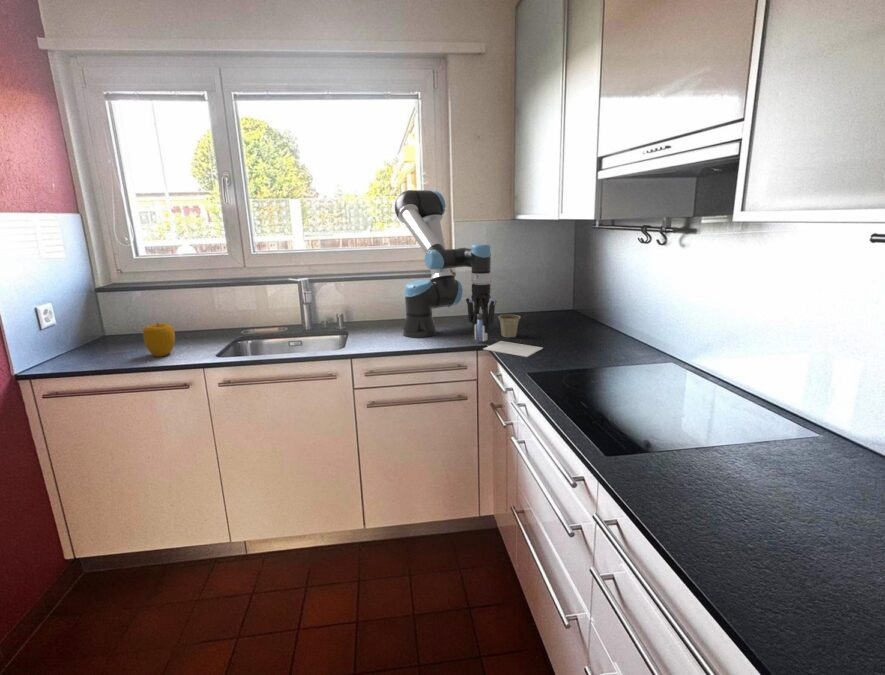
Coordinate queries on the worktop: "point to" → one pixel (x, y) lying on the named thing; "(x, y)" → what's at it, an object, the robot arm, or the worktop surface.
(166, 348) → the apple
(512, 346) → the paper
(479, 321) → the cylinder
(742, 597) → the worktop surface
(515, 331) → the flower pot
